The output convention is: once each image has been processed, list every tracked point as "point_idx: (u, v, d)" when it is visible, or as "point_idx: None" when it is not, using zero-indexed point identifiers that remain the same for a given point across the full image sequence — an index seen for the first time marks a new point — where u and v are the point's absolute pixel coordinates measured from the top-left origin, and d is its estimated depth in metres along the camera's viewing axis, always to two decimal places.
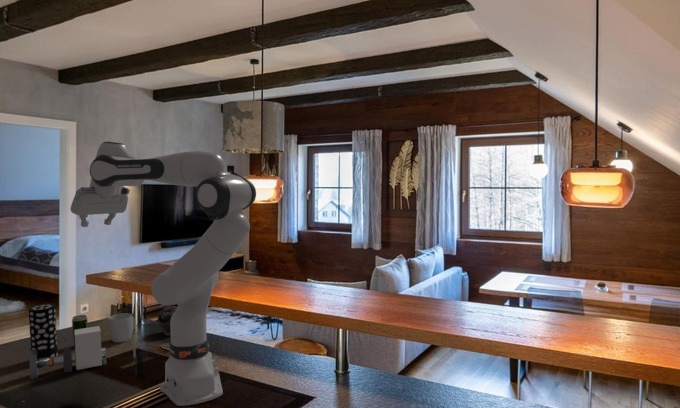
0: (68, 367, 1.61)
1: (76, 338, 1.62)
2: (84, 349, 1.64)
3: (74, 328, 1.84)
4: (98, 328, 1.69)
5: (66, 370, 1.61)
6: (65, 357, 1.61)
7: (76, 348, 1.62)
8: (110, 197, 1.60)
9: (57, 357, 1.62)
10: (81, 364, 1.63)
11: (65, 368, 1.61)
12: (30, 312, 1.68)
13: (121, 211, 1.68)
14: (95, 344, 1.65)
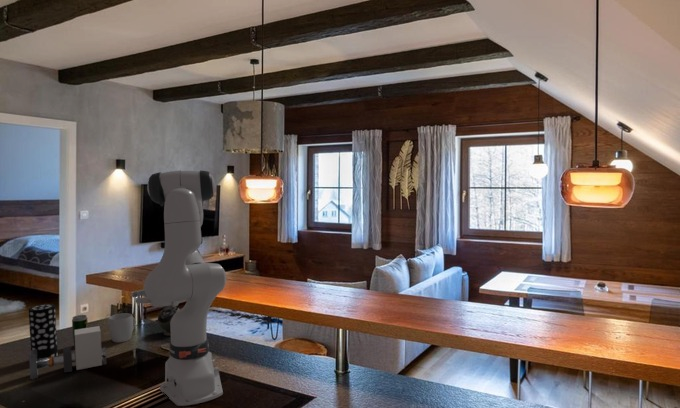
0: (68, 367, 1.61)
1: (76, 338, 1.62)
2: (84, 349, 1.64)
3: (74, 328, 1.84)
4: (98, 328, 1.69)
5: (66, 370, 1.61)
6: (65, 357, 1.61)
7: (76, 348, 1.62)
8: None
9: (57, 357, 1.62)
10: (81, 364, 1.63)
11: (65, 368, 1.61)
12: (30, 312, 1.68)
13: None
14: (95, 344, 1.65)
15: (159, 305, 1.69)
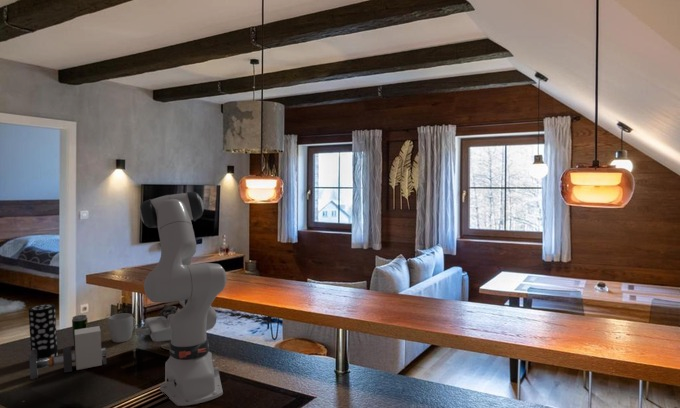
0: (68, 367, 1.61)
1: (76, 338, 1.62)
2: (84, 349, 1.64)
3: (74, 328, 1.84)
4: (98, 328, 1.69)
5: (66, 370, 1.61)
6: (65, 357, 1.61)
7: (76, 348, 1.62)
8: (166, 319, 1.80)
9: (57, 357, 1.62)
10: (81, 364, 1.63)
11: (65, 368, 1.61)
12: (30, 312, 1.68)
13: (153, 330, 1.70)
14: (95, 344, 1.65)
15: (160, 340, 1.70)
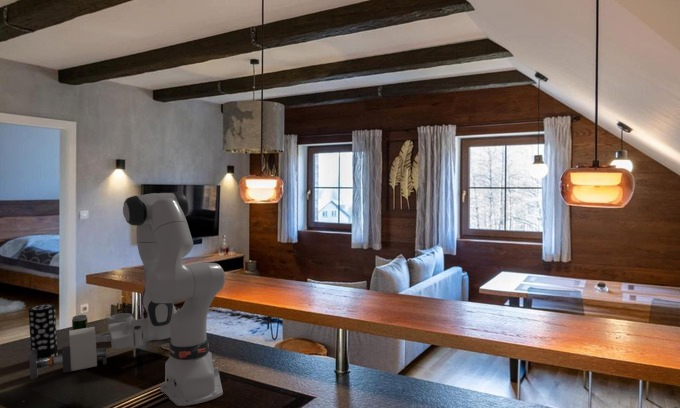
0: (67, 367, 1.61)
1: (71, 339, 1.61)
2: (79, 350, 1.63)
3: (74, 328, 1.84)
4: (93, 329, 1.68)
5: (65, 370, 1.61)
6: (64, 357, 1.60)
7: (71, 349, 1.62)
8: (128, 325, 1.73)
9: (57, 357, 1.62)
10: (76, 365, 1.63)
11: (64, 369, 1.61)
12: (30, 312, 1.68)
13: (113, 337, 1.64)
14: (90, 345, 1.65)
15: (120, 347, 1.63)
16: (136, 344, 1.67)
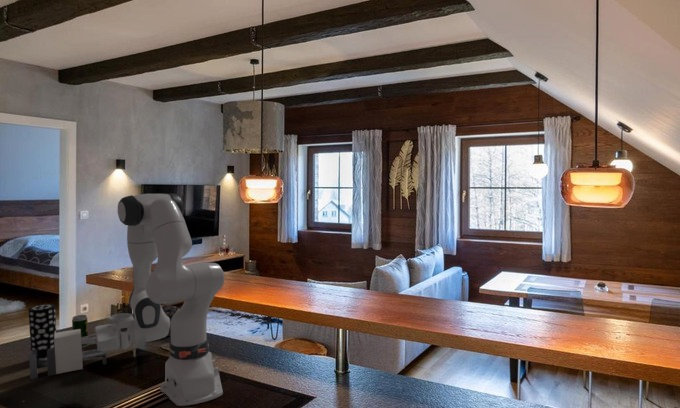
0: (52, 370, 1.59)
1: (56, 341, 1.59)
2: (64, 353, 1.61)
3: (74, 328, 1.84)
4: (79, 331, 1.65)
5: (50, 373, 1.58)
6: (49, 360, 1.58)
7: (56, 352, 1.59)
8: (115, 327, 1.71)
9: None
10: (61, 368, 1.60)
11: (49, 372, 1.58)
12: (30, 312, 1.68)
13: (99, 340, 1.61)
14: (76, 347, 1.62)
15: (106, 350, 1.61)
16: (122, 346, 1.65)
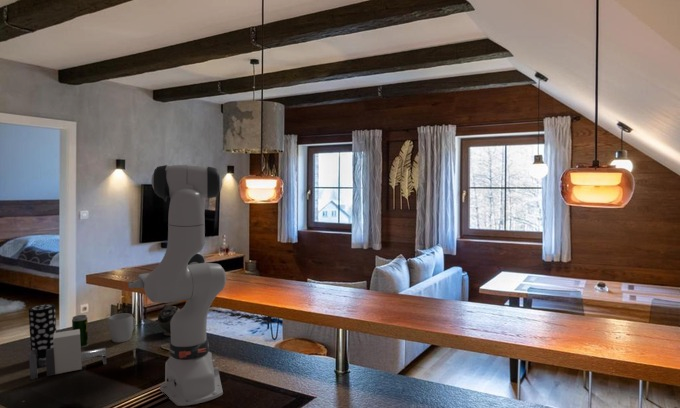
0: (51, 370, 1.59)
1: (55, 342, 1.59)
2: (63, 353, 1.60)
3: (74, 328, 1.84)
4: (78, 331, 1.65)
5: (49, 373, 1.58)
6: (48, 360, 1.58)
7: (55, 352, 1.59)
8: None
9: None
10: (60, 368, 1.60)
11: (48, 372, 1.58)
12: (30, 312, 1.68)
13: None
14: (75, 347, 1.62)
15: None
16: None
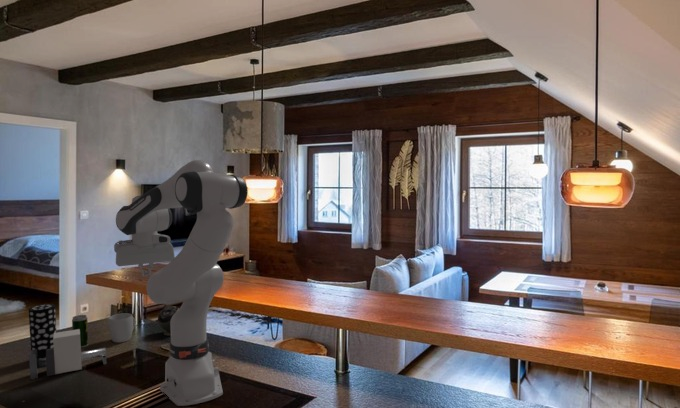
0: (51, 370, 1.59)
1: (55, 342, 1.59)
2: (63, 353, 1.60)
3: (74, 328, 1.84)
4: (78, 331, 1.65)
5: (49, 373, 1.58)
6: (48, 360, 1.58)
7: (55, 352, 1.59)
8: (148, 246, 1.71)
9: None
10: (60, 368, 1.60)
11: (48, 372, 1.58)
12: (30, 312, 1.68)
13: (169, 259, 1.76)
14: (75, 347, 1.62)
15: None
16: None
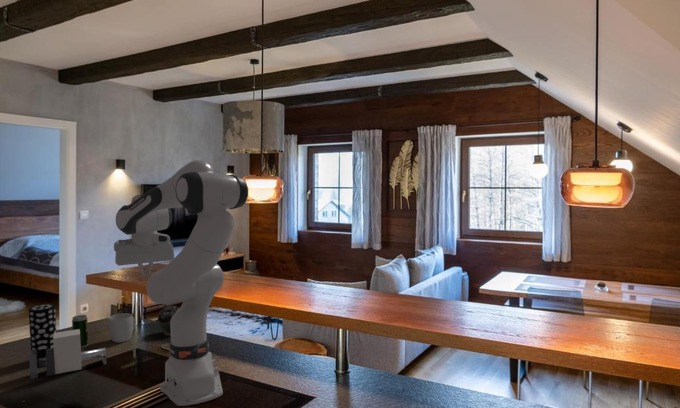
0: (51, 370, 1.59)
1: (55, 342, 1.59)
2: (63, 353, 1.60)
3: (74, 328, 1.84)
4: (78, 331, 1.65)
5: (49, 373, 1.58)
6: (48, 360, 1.58)
7: (55, 352, 1.59)
8: (147, 246, 1.71)
9: None
10: (60, 368, 1.60)
11: (48, 372, 1.58)
12: (30, 312, 1.68)
13: (169, 259, 1.76)
14: (75, 347, 1.62)
15: None
16: None
